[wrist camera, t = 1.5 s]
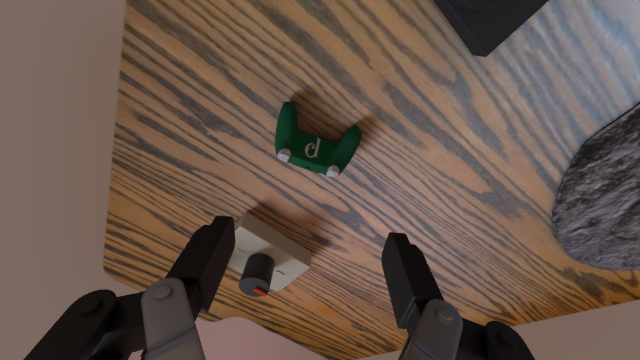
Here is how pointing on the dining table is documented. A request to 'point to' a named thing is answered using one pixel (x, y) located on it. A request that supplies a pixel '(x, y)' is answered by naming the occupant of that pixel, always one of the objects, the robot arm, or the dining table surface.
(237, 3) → the dining table surface
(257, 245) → the stove console
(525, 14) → the black switch housing
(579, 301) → the dining table surface
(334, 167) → the gaming controller
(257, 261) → the dial
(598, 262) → the worn metal disc
